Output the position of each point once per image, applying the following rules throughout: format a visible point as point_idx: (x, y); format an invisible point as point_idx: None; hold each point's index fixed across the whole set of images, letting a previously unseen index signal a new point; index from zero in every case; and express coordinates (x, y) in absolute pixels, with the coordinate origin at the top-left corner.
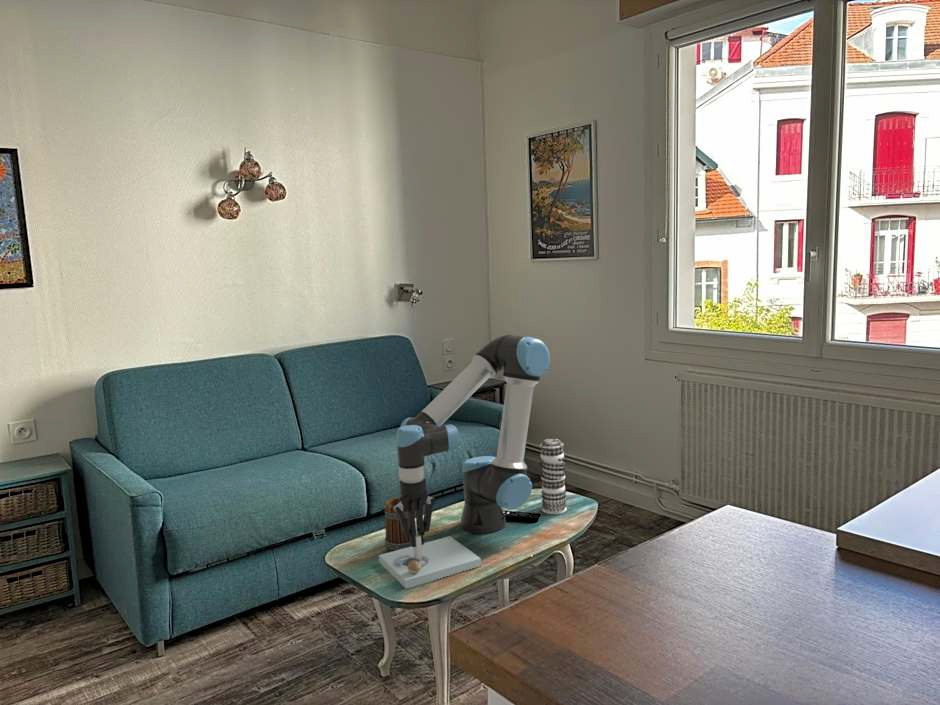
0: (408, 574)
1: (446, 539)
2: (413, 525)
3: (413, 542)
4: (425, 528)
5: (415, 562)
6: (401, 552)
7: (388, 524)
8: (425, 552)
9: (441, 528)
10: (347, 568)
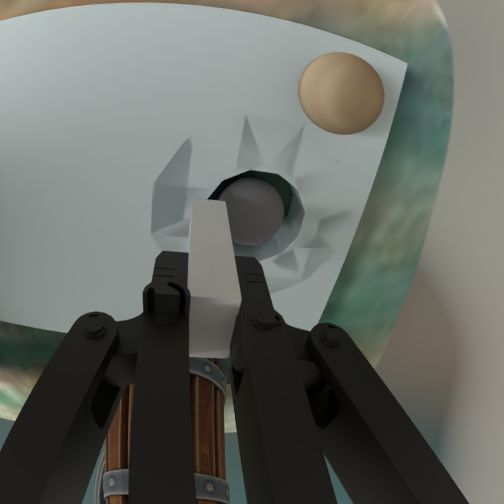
0: None
1: (11, 307)
2: (285, 419)
3: (252, 282)
4: (113, 349)
5: (357, 77)
6: None
7: (224, 458)
8: (129, 263)
9: (24, 380)
10: (379, 338)
